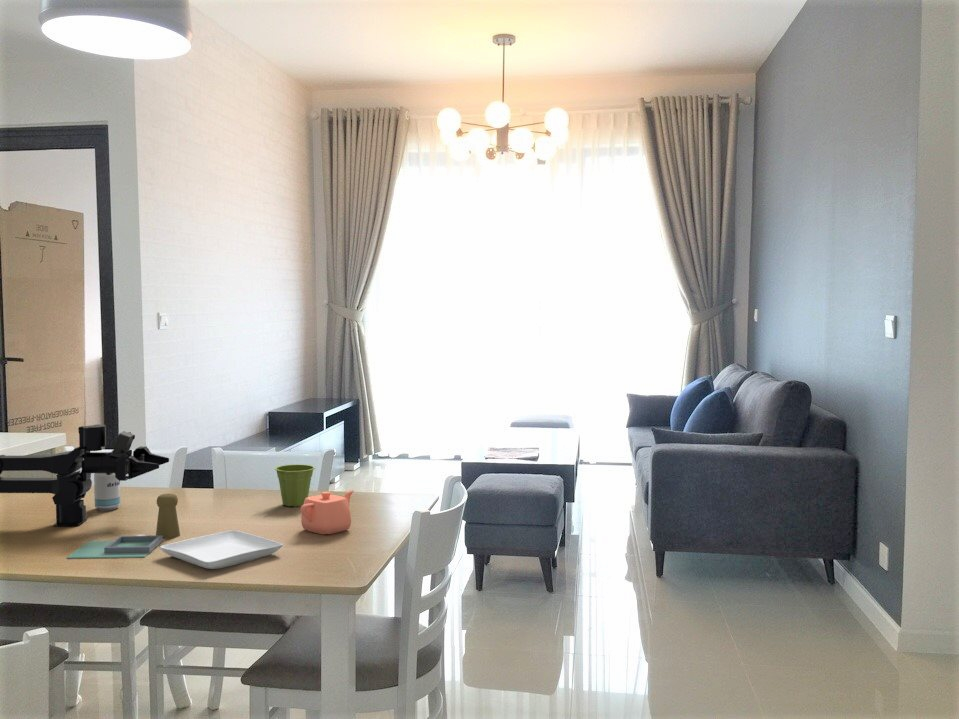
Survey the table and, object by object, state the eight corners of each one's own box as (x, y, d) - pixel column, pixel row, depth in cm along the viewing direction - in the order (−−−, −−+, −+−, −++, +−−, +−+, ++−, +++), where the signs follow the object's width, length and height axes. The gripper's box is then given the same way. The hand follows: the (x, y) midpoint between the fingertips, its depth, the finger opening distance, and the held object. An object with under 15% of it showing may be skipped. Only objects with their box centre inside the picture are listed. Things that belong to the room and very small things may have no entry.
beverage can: (107, 512, 247) (106, 471, 247) (89, 510, 250) (88, 469, 249) (125, 507, 254) (124, 467, 253) (107, 505, 256) (106, 465, 256)
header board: (66, 558, 203) (66, 551, 203) (89, 542, 217) (89, 535, 217) (146, 557, 204) (146, 550, 204) (163, 541, 218) (163, 534, 218)
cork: (172, 539, 219) (171, 497, 219) (150, 538, 221) (149, 496, 220) (184, 533, 225) (184, 492, 225) (163, 532, 226) (163, 491, 226)
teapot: (287, 532, 227) (287, 494, 226) (340, 520, 240) (340, 483, 240) (315, 540, 219) (314, 500, 219) (368, 527, 233) (368, 489, 232)
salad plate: (233, 540, 220) (233, 527, 220) (285, 556, 207) (285, 542, 207) (157, 559, 204) (157, 545, 204) (208, 577, 190) (208, 562, 190)
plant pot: (321, 505, 257) (321, 468, 257) (283, 510, 251) (283, 472, 250) (305, 498, 267) (305, 462, 266) (269, 503, 260) (268, 466, 260)
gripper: (92, 439, 224) (153, 439, 225) (117, 428, 243) (173, 429, 244) (92, 481, 225) (153, 481, 226) (117, 467, 244) (173, 467, 245)
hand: (164, 463), depth 235 cm, fingers open, 9 cm apart
